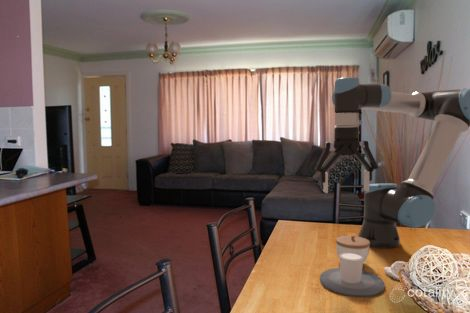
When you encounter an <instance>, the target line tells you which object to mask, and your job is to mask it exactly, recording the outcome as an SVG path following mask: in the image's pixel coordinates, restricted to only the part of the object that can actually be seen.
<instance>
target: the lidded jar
mask: <svg viewBox="0 0 470 313" xmlns="http://www.w3.org/2000/svg"><path fill="white" fill-rule="evenodd" d="M335 242H336V244H335V246H336V247H335V248H336V250H335V251H336V253H337V256H338V258H339V255H340V254H341V253H346V252H348V253H356V254H360V255H362V256H363V257H364V260H363V263H364V262H366V260H367V259H368V258H369V257H368V256H369V254H370V247H371V246H370V242H369V240H367V239H365V238H362V237H358V236H355V235H354V234H352V235H341V236H338V237H337V238H336V239H335Z"/></svg>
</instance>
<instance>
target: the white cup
mask: <svg viewBox="0 0 470 313" xmlns="http://www.w3.org/2000/svg"><path fill="white" fill-rule="evenodd" d="M338 258H339V259H338V260H339V268H340V275H341V280H343V281H344V282H347V283H359V282H360V281H361V275H362V270H363V266H364V262H363V260H364V257H363V256H362V255H360V254H356V253H348V252H346V253H341V254H340V255H339V257H338Z"/></svg>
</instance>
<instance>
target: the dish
mask: <svg viewBox="0 0 470 313" xmlns="http://www.w3.org/2000/svg"><path fill="white" fill-rule="evenodd" d="M319 283H320V284H321V285H322V286H323V287H324V288H326V289H327V290H329V291H331V292H333V293H336V294H339V295H342V296H348V297H356V298H365V297H366V298H367V297H374V296H377V295H380V294H382V293H383V292H384V290H385V281H384V280H383V279H382V277H379V276H378V275H376V274H374V273H372V272H370V271H366V270H363V269H362V275H361V281H360V282H359V283H347V282H344V281H343V280H341V275H340V267H337V268H331V269H330V268H329V269H326V270H325V271H322V272H321V273H320V275H319Z"/></svg>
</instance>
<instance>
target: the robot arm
mask: <svg viewBox="0 0 470 313" xmlns="http://www.w3.org/2000/svg"><path fill="white" fill-rule="evenodd" d="M333 89H334V91H333V92H332V95H331V102H332V104H333V106H334V108H333V109H334V119H333V120H334V121H333V122H334V126H336V127H335V128H334V129H333V131H334V133H333V135H334V138H333V139H334V141H333V142H328V141H325V142H324V146H323V150H322V152H321V154H320V156H319V158H318V159H317V162H316V164H315V167H314V170H315V171H317V172H319V173H320V175H319V176H320V177H319V178H320V180H319V181H320V182H321V183H322V185H323V187H322V188H323V189H322V190H323V191H322V192H323V193H325V194H328V193H329V173H328V172H327V171H328V170H329V169H330V167H331V166H332V165H333V163H334V162H336V160H337V158H339V157H341V156H354V157H355V158H356V159H357V160H358V162H359V163H360V164H361V165H362V166H363V167H364V168H365V170H364V169H363V191H364V194H363V196H364V198H363V200H364V201H363V221H362V225H361V227H360V230H359V232H358V236H357V237H362V238H365V239H367V240H369V242H370V246H369V247H371V248H377V249H394V248H398V247H399V246H400V245H401V244H400V242H401V238H400V235H399V232H398V228H397V223H398V224H401V225H403V226H405V227H411V228H414V229H415V228H416V229H417V228H421V227H425V226H426V225H427V224H429V223H430V222H431V220H432V219H433V218H434V216H435V213H436V209H435V208H436V203H435V201H434V197H435V195H434V193H433V192H434V191H433V189H434V187H435V185H436V184H437V181H438V179H439V178H440V175H441V174H442V171H443V170H444V168H445V165H446V164H447V161H448V159H449V158H450V156H451V153H452V151H453V150H454V147H455V146H456V144H457V141H458V140H459V137H460V136H461V134H462V133H465V132H467V131H468V130H469V128H470V88H465V87H464V88H461V89H448V90H447V89H445V90H436V91H428V92H427V91H426V92H425V91H424V92H421V91H419V92H418V91H415V92H412V93H406V92H405V93H404V92H398V91H397V92H396V91H392V90H391V88H390V87H389V85H387V84H383V83H367V84H366V83H365V84H362V83H360V79H359V78H358V77H355V76H351V77H349V76H348V77H338V78H337V79H335V81H334V88H333ZM360 110H367V111H377V112H385V113H397V114H407V115H409V116H410V117H412V118H418V119H419V118H420V119H425V120H429V121H434V122H435V123H436V124H435V126H434V128H433V130H432V132H431V133H430V136H429V137H428V139H427V141H426V143H425V145H424V147H423V149H422V151H421V152H420V155H419V156H418V159H417V161H416V163H415V165H414V166H413V169H412V170H411V172H410V175H409V177H408V178H407V179H406V180H403V181H401V182H400V183H399V186H398V184H397V183H391V182H390V183H387V182H385V183H381V182H380V183H370V182H372V180H373V172H374V170H378V168H379V165H378V164H377V161H376V160H375V157H374V155H373V154H372V151H371V149H370V146H369V145H370V144H369V141H367V140H362V141H359V136H360V135H359V132H360V131H359V130H360V128H359V127H358V126H359V124H360V123H359V122H360V121H359V120H360V118H359V117H360V116H359V115H360ZM359 147H360V148H362V150H363V152H364V154H365V157H366V158H367V160H368V161H366V159H365V158H364V156H362V154H361V153H360V152H359V150H358V148H359ZM332 148H334V151H333V152H332V154H331V155H330V156H329V157H328V154H329V152H330V150H332ZM327 157H328V159H327ZM325 161H326V162H325ZM368 162H369V163H368Z"/></svg>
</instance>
